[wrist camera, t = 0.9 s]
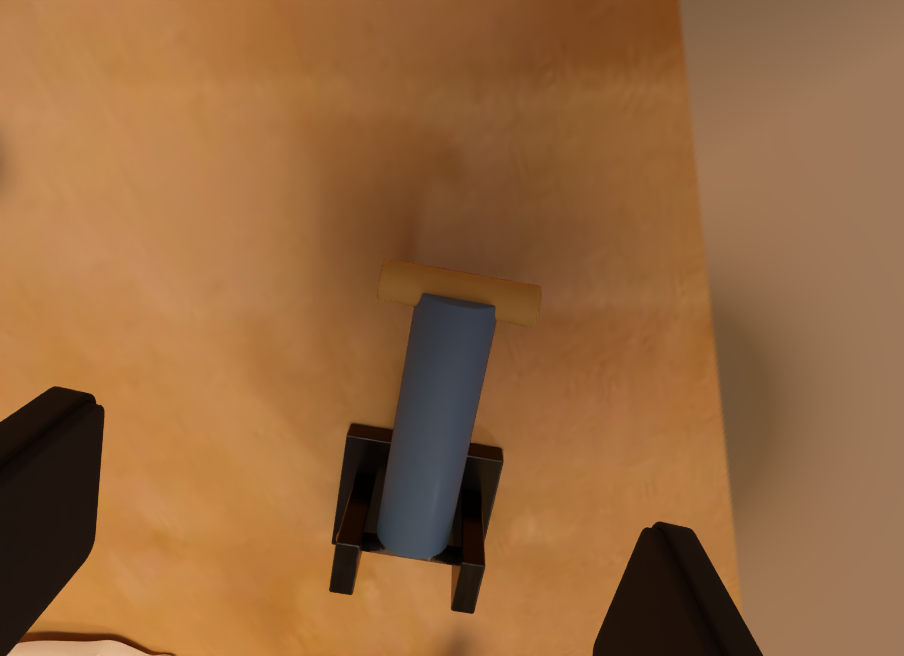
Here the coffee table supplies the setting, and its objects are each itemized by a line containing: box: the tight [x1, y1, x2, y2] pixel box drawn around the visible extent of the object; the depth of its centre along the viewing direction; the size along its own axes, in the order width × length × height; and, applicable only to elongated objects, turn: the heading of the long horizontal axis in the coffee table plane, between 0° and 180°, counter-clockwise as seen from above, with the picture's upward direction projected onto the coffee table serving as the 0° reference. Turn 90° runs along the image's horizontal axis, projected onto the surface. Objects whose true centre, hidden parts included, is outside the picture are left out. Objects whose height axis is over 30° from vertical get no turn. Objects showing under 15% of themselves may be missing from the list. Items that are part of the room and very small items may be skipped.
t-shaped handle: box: [377, 259, 541, 559], centre depth 25 cm, size 12×6×3 cm, turn 170°
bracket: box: [329, 424, 504, 614], centre depth 29 cm, size 6×8×6 cm
